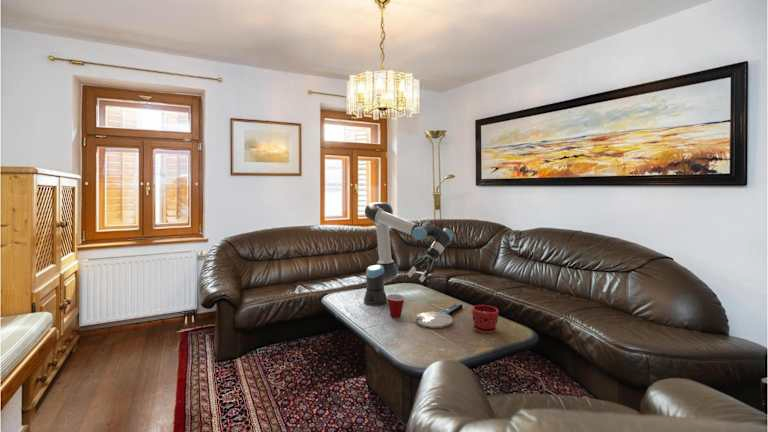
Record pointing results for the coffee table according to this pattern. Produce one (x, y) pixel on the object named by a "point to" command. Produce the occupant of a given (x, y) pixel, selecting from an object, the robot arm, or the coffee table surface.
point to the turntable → (434, 319)
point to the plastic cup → (395, 304)
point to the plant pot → (485, 318)
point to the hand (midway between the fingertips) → (414, 278)
